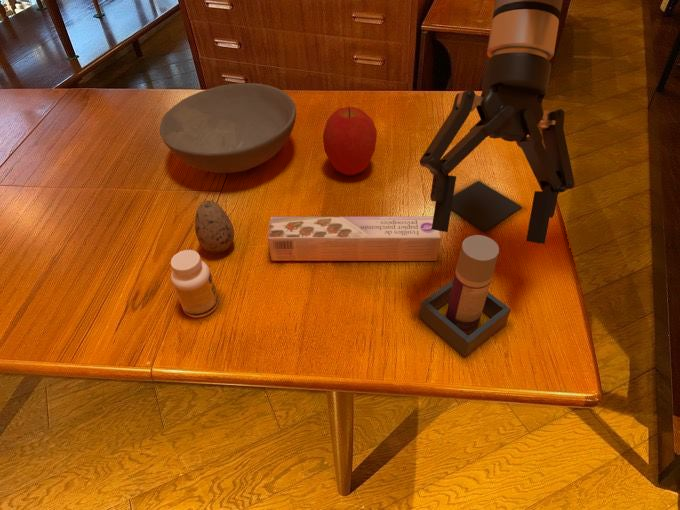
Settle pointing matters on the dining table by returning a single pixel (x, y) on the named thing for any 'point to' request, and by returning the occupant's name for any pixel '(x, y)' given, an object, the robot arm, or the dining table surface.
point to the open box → (452, 332)
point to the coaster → (483, 206)
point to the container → (472, 282)
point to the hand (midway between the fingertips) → (488, 237)
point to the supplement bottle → (193, 284)
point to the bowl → (229, 126)
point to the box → (354, 238)
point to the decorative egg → (213, 227)
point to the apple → (349, 140)
